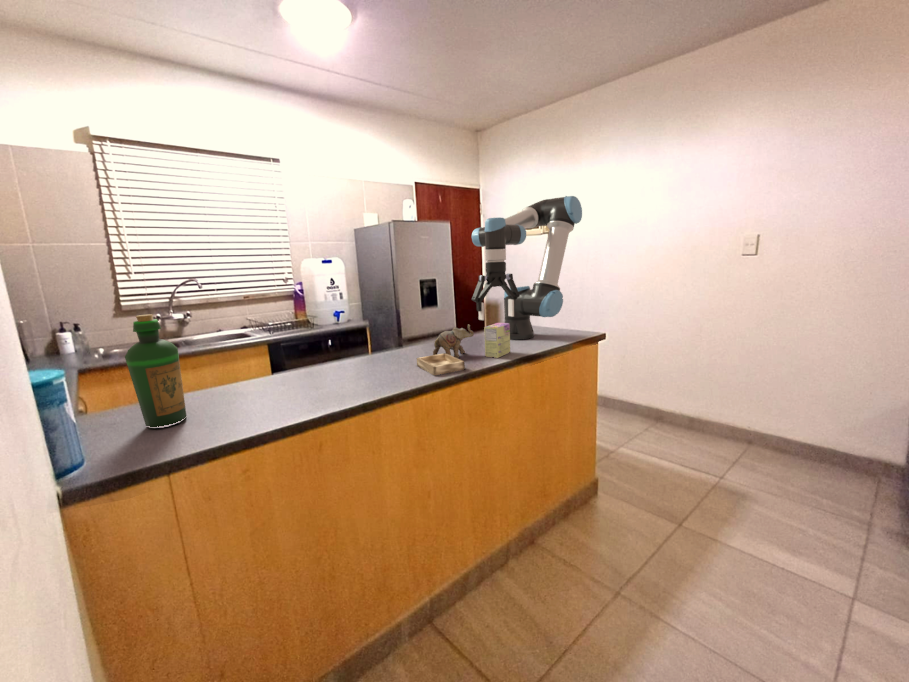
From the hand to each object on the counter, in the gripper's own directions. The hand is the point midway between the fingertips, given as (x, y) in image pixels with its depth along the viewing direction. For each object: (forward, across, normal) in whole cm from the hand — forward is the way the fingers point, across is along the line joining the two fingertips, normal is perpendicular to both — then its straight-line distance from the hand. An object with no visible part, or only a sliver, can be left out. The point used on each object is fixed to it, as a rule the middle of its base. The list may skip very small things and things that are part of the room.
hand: (496, 318), depth 152 cm
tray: (+15, +26, +3) cm, 30 cm away
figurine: (+15, +14, -9) cm, 23 cm away
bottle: (+16, +106, +6) cm, 107 cm away
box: (+15, 0, 0) cm, 15 cm away
